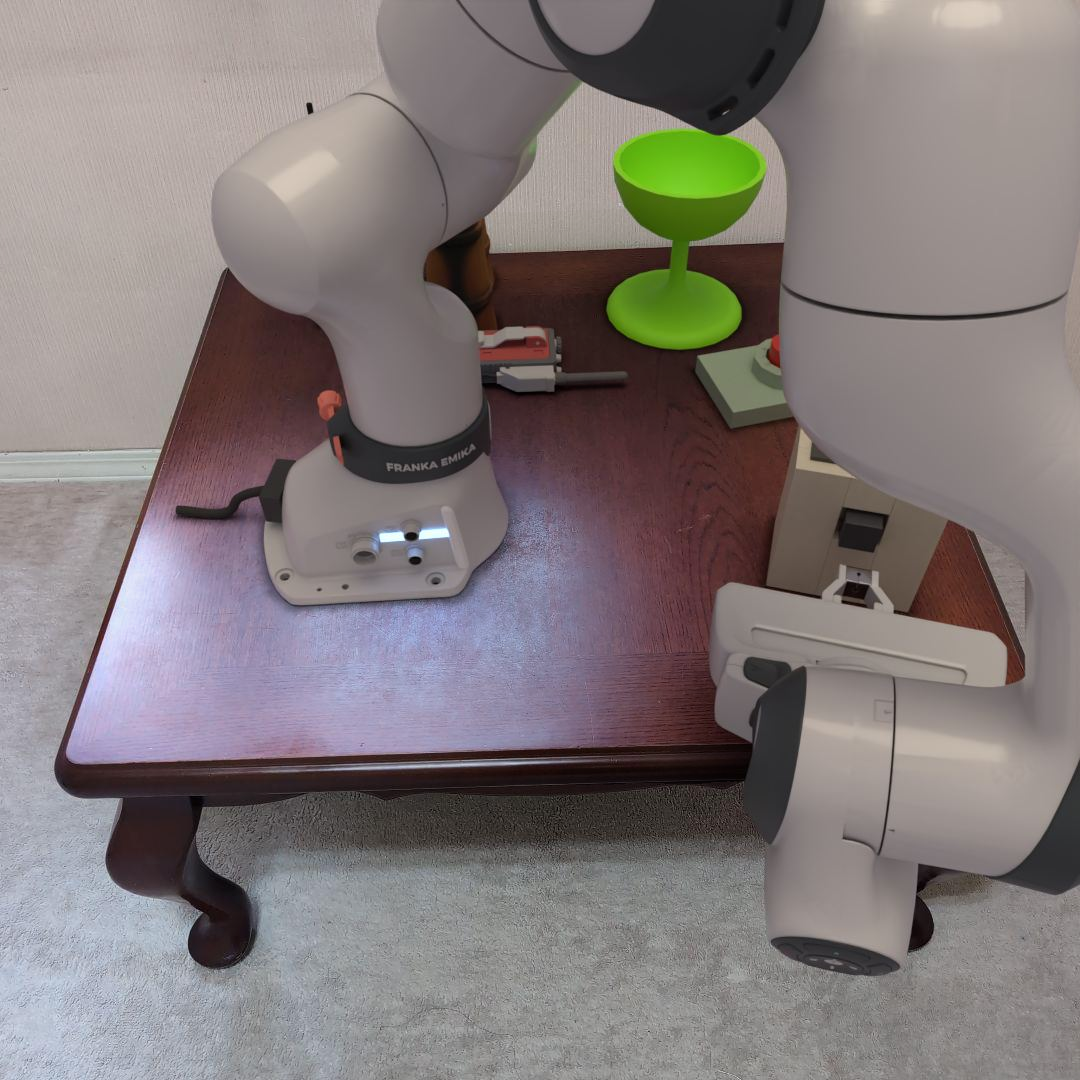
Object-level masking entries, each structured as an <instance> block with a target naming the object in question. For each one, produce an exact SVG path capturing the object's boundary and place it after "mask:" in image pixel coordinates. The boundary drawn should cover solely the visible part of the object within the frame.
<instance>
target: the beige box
mask: <svg viewBox="0 0 1080 1080" xmlns="http://www.w3.org/2000/svg"><path fill="white" fill-rule="evenodd" d="M791 451H792V452H791V455H790V459H789V463H788V467H787V472H786V475H785V480H784V483H783V486H782V487H783V488H782V490H781V491H782V492H781V495H780V500H779V504H778V508H777V513H776V516H775V521H774V527H773V534H772V539H771V540H772V541H771V548H770V556H769V562H768V568H767V569H768V570H767V576H766V582H765V586H766V587H771V588H777V589H781V590H785V591H786V590H787V591H792V592H799V593H803V594H807V595H813V596H819V597H821V595H822V592H823V591H824V590H825V589H826V588H827V587H828V586H830V585H831V584H832V583H833V582H834V581H835V576H836V572H837V569H838V566H839V564H841V565H846V566H851V567H856V568H862V569H867V570H873V571H878V572H879V584H878V587H880V588H881V589H882V590H883V592H884V593H885V594H886V596H887V597H888V598H889V600H890V601H891V603H892V604H893V605H894V611H898V612H902V613H909V611H910V608H911V606H912V604H913V602H914V599H915V597H916V595H917V593H918V590H919V589H920V586H921V584H922V581H923V579H924V576H925V574H926V572H927V569H928V567H929V565H930V563H931V561H932V558H933V555H934V553H935V552H936V549H937V547H938V544H939V542H940V539H941V537H942V535H943V532H944V530H945V529H946V526H947V524H948V522H949V520H948V519H946V518H943V517H941V516H939V515H937V514H934V513H932V512H929V511H927V510H924V509H922V508H919V507H917V506H914V505H912V504H909V503H907V502H904V501H901V500H899V499H896V498H893V497H891V496H889V495H886V494H884V493H882V492H880V491H878V490H876V489H874V488H872V487H870V486H869V485H867V484H865V483H863V482H862V481H860V480H859V479H857V478H855V477H854V476H852V475H851V474H849V473H848V472H846V471H845V470H843V469H842V468H841V467H839V466H838V465H837V464H835V463H834V462H833V461H832V460H831V459H830V458H829V457H827V456H826V455H825V454H824V453H823V452H822V451H821V450H820V449H819V448H818V447H817V446H816V445H815V444H814V443H813V442H812V441H811V440H810V439H809V437H808V436H807V435H806V434H805V433H804V431H803V430H802V429H801V427H800V425H799V424H798V427H797V429H796V434H795V439H794V443H793V447H792V449H791ZM846 508H852V509H858V510H864V511H869V512H875V513H881V514H883V529H882V532H881V535H880V538H879V540H878V543H877V546H876V549H875V551H874V553H871V552H865V551H860V550H854V549H849V548H843V547H838V540H839V529H840V526H841V522H842V519H843V516H844V513H845V510H846ZM841 601H844V602H851V603H854V604H855V603H856V604H861V605H866V604H865V602H864V600H861V599H857V598H852V597H846V596H842V598H841Z"/></svg>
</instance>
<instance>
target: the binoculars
mask: <svg viewBox="0 0 1080 1080" xmlns="http://www.w3.org/2000/svg"><path fill="white" fill-rule="evenodd" d="M485 218H486V217H484V218H483V219H481V220H479V221H478V222H476V223H474V224H473V225H471V226H470V227H468V228H466V229H465V230H463V231H462V232H460V233H458V234H457V235H455V236H454V237H452V238H450V239H449V240H447V241H446V242H444V243H442V244H441V245H439V246H438V247H436V248H434V249H433V250H432V251H431V252H429V254H428V256H427V258H426V261H425V263H426V264H425V265H426V282H430V283H434V284H437V285H440V286H442V287H444V288H446V289H448V290H449V291H451V292H452V293H454V294H455V295H456V296H457V297H458V298H459V299H460V300H461V301H462V302H463V303H464V304H465V305H466V306H467V308H468V309H469V310H470V312H471V313H472V315H473V317H474V319H475V321H476V324H477V328H478V331H481V330H498V322H497V317H496V312H495V307H494V301H493V294H494V285H495V275H494V269H493V264H492V259H491V253H490V251H491V250H490V249H491V239H490V235H489V234H488V232H487V225H486V219H485Z"/></svg>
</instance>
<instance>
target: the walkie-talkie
mask: <svg viewBox="0 0 1080 1080" xmlns="http://www.w3.org/2000/svg"><path fill="white" fill-rule="evenodd" d="M478 340H479V354H480V368H481V382H482V384H497V385H500V386H501V387H504V388H506V389H508V390H511V391H514V392H516V393H523V392H524V393H526V392H528V393H529V392H547V393H551V392H552V393H553V392H555V386H565V385H567V384H580V383H581V384H582V383H583V384H584V383H602V382H603V381H612V380H613V381H614V380H615V381H616V380H627V379H628V377H629V374H628V373H627V371H624V370H623V371H596V372H594V371H593V372H571V373H567V372H563V371H562V370H563V369H562V366H561V367H560V366H557V364H558V363H562V353H563V350H562V349H563V346H562V337H561V336H556V337H555V331H554V328H552V327H542V326H539V325H531V326H525V327H523V326H505V327H503V328H502V329H497V330H481V331H478Z"/></svg>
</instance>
